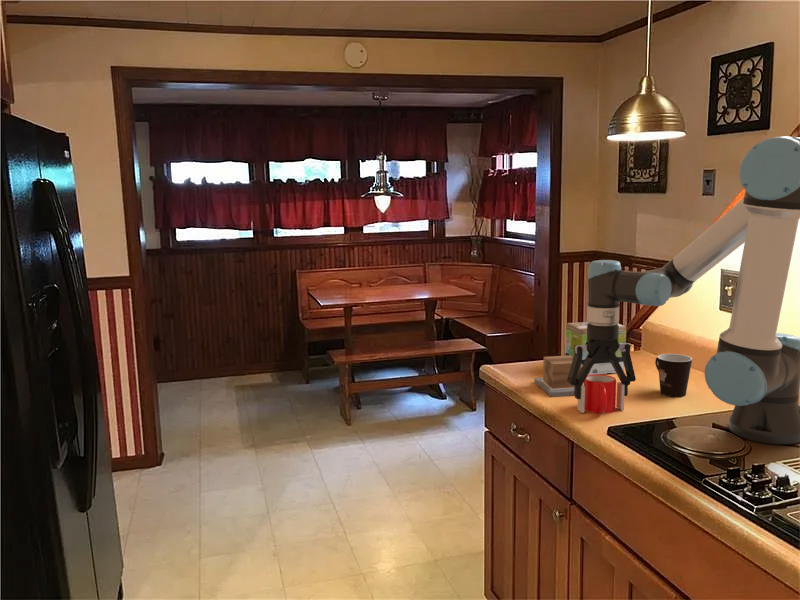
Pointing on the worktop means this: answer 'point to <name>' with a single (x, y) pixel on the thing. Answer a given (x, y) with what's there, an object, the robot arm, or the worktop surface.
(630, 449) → the worktop surface
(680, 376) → the coffee mug
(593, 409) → the mug
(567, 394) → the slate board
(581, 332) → the tea box
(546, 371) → the walnut block
